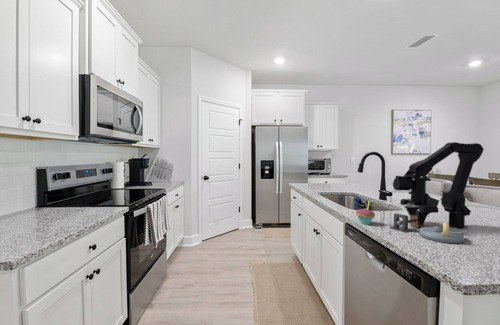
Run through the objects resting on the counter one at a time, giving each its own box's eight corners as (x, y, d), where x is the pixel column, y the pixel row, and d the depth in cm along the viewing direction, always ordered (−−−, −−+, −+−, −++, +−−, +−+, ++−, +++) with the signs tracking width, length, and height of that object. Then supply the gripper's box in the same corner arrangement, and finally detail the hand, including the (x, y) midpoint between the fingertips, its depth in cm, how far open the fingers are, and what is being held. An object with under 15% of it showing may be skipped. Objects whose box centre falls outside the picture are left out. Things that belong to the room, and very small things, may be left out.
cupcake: (373, 221, 124) (373, 198, 123) (376, 226, 116) (376, 201, 115) (354, 220, 126) (355, 197, 126) (356, 224, 118) (356, 200, 118)
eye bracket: (396, 226, 115) (397, 212, 115) (412, 230, 109) (412, 216, 108) (389, 228, 113) (389, 213, 113) (404, 232, 106) (405, 217, 106)
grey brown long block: (416, 224, 118) (416, 213, 118) (424, 225, 115) (424, 215, 115) (393, 228, 111) (394, 217, 111) (401, 230, 108) (401, 219, 108)
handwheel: (425, 240, 96) (425, 222, 96) (416, 230, 109) (416, 214, 109) (470, 245, 91) (470, 226, 90) (455, 233, 103) (455, 217, 103)
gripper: (451, 193, 106) (450, 229, 106) (422, 187, 124) (421, 218, 125) (424, 193, 106) (424, 229, 106) (399, 187, 125) (399, 218, 125)
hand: (417, 223), depth 116 cm, fingers closed on grey brown long block, 5 cm apart
